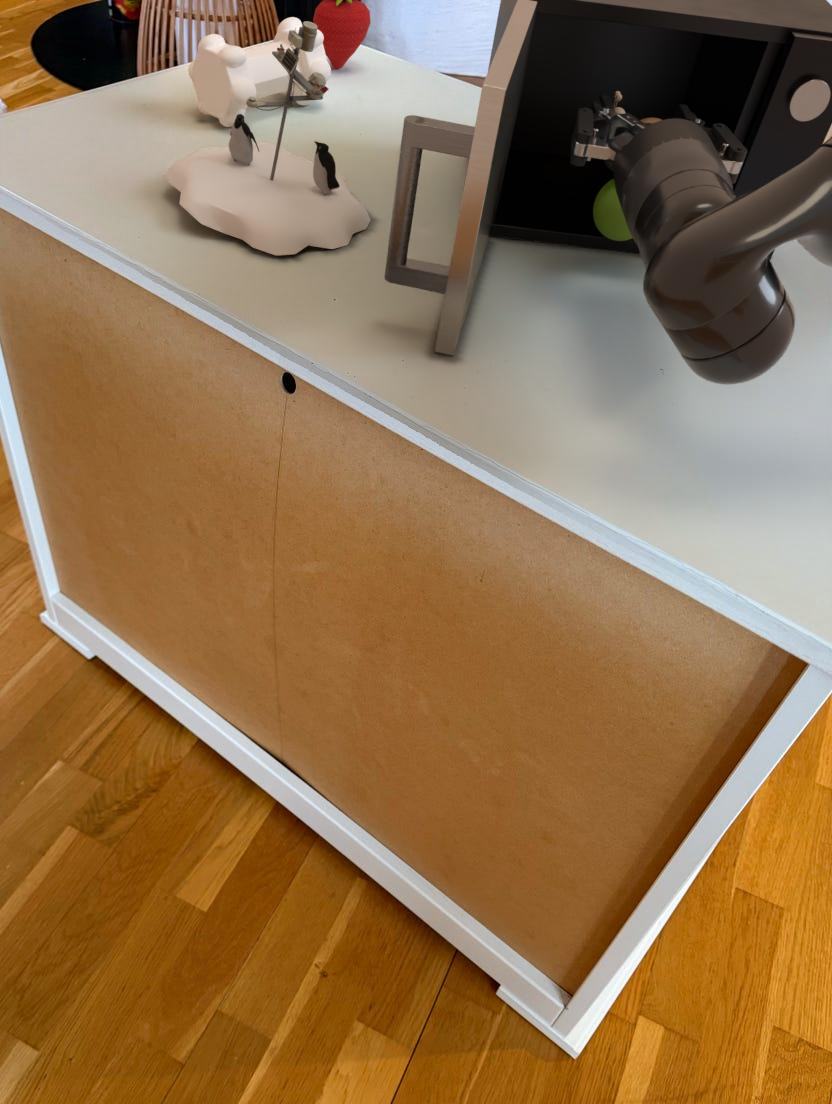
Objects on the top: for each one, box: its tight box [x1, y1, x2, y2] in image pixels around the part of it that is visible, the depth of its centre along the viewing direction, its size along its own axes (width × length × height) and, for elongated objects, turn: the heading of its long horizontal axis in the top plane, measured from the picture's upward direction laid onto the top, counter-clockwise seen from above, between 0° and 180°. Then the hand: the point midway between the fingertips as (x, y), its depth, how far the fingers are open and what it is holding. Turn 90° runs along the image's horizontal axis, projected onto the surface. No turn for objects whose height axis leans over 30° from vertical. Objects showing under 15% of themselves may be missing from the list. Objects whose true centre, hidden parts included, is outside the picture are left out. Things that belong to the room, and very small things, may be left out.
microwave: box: [487, 0, 832, 261], centre depth 89 cm, size 22×28×20 cm
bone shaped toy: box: [187, 16, 332, 128], centre depth 102 cm, size 15×9×8 cm, turn 137°
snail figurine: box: [593, 91, 661, 241], centre depth 82 cm, size 5×6×12 cm
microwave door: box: [384, 0, 537, 356], centre depth 75 cm, size 7×22×20 cm, turn 167°
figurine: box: [163, 20, 371, 256], centre depth 83 cm, size 20×18×16 cm
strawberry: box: [312, 0, 371, 70], centre depth 113 cm, size 6×8×10 cm
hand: (639, 112), depth 80 cm, fingers closed on snail figurine, 6 cm apart
